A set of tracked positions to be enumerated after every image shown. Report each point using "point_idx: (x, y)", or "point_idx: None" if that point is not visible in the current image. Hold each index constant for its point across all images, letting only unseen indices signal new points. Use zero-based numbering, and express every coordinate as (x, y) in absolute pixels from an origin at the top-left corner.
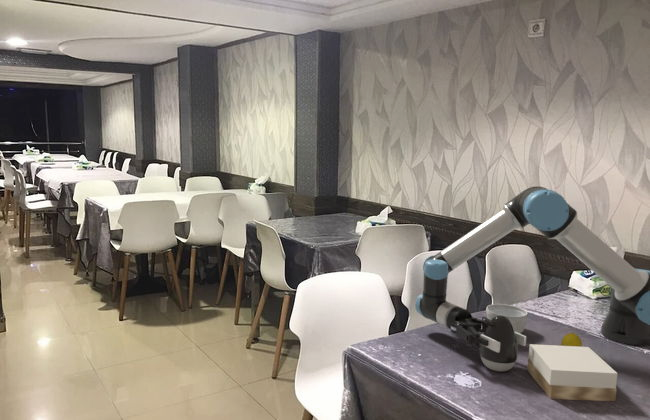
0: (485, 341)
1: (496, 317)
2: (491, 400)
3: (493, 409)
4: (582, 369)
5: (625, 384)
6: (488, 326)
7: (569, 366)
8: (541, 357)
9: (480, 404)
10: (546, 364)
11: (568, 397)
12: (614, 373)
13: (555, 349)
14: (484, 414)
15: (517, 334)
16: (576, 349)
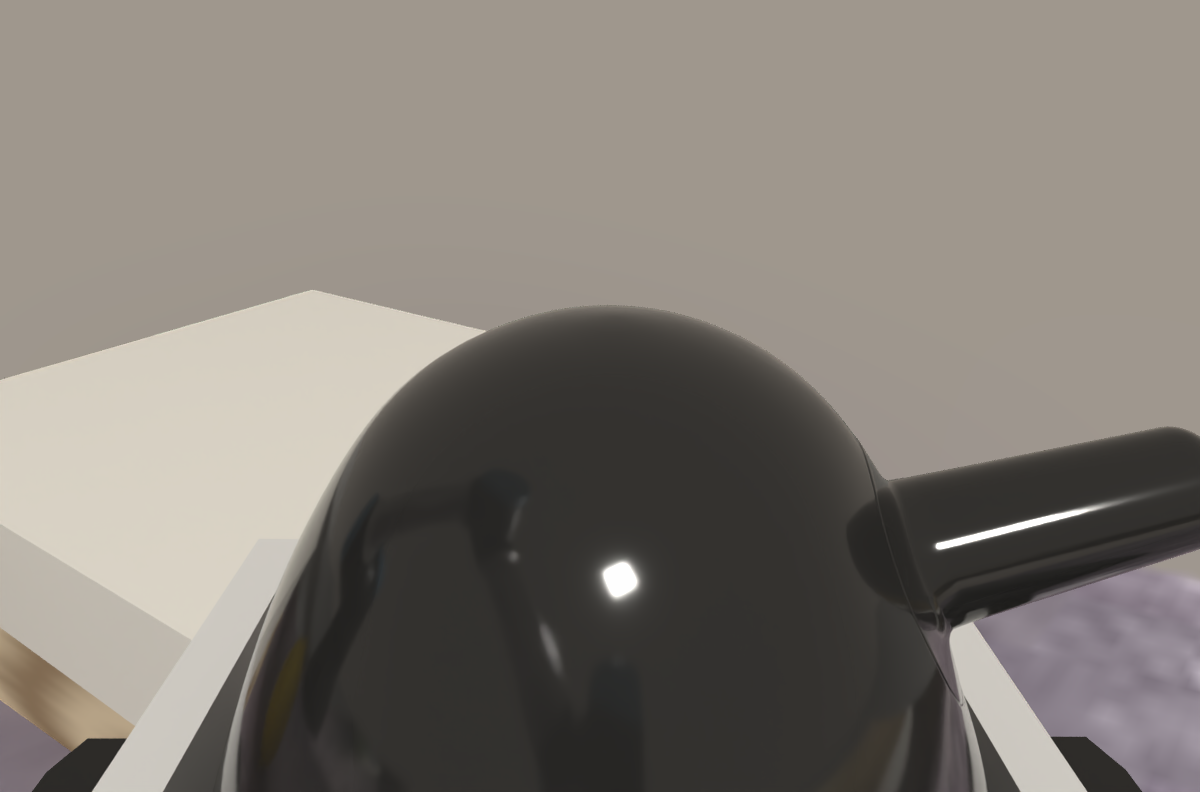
0: (1096, 749)
1: (787, 392)
2: (1072, 652)
3: (1097, 587)
4: (432, 330)
5: None
6: (970, 751)
7: None
8: None
9: (1188, 648)
10: None
11: None
12: (324, 293)
13: (160, 483)
14: (1183, 576)
15: (247, 655)
16: (2, 434)
